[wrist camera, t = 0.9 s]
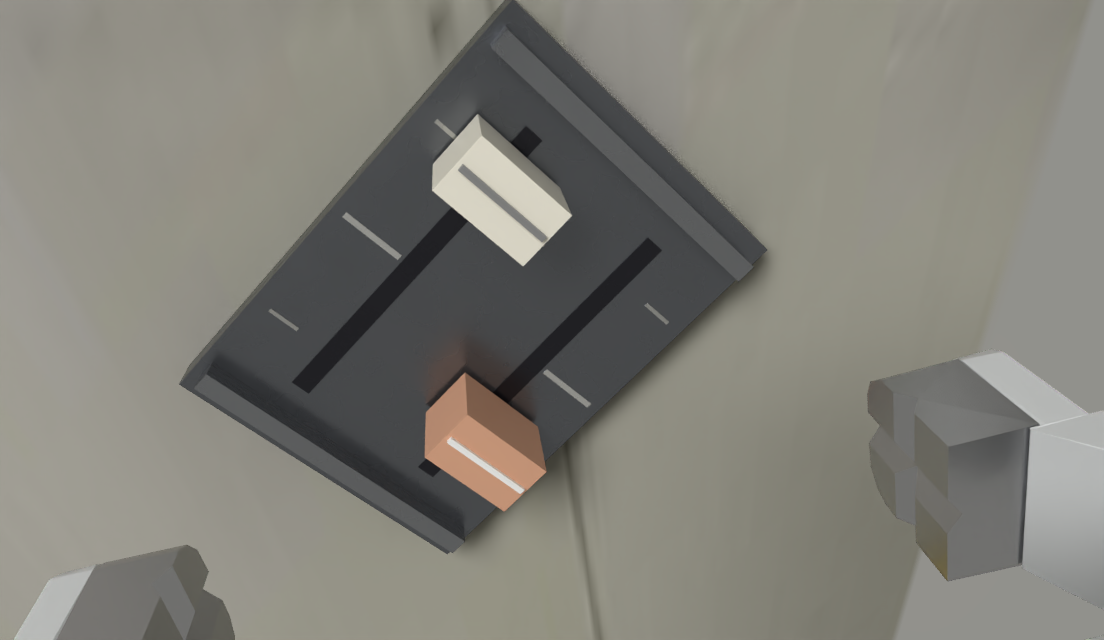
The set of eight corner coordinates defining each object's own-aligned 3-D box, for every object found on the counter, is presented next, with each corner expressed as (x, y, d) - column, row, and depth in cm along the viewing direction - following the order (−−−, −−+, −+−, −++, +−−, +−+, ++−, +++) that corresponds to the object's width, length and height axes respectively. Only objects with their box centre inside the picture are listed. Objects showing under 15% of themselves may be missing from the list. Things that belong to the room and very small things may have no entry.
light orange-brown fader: (464, 372, 43) (467, 417, 39) (537, 426, 45) (546, 474, 41) (425, 412, 43) (424, 460, 40) (499, 464, 45) (504, 514, 42)
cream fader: (477, 113, 37) (481, 136, 34) (559, 187, 39) (572, 217, 35) (432, 164, 38) (432, 192, 34) (515, 234, 40) (523, 268, 36)
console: (509, -5, 38) (514, 1, 35) (754, 236, 44) (775, 258, 41) (189, 364, 43) (172, 396, 41) (447, 530, 50) (447, 568, 47)
